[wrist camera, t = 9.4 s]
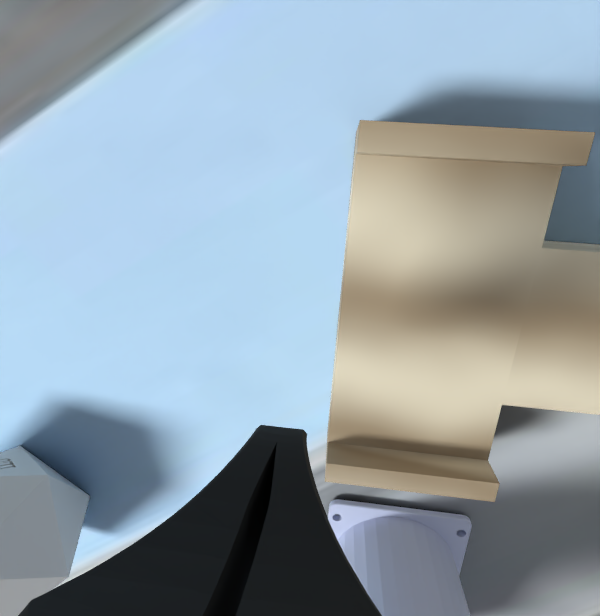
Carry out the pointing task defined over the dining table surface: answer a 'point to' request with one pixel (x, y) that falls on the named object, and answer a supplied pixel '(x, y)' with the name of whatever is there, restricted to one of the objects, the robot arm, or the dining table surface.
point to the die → (35, 528)
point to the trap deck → (456, 303)
